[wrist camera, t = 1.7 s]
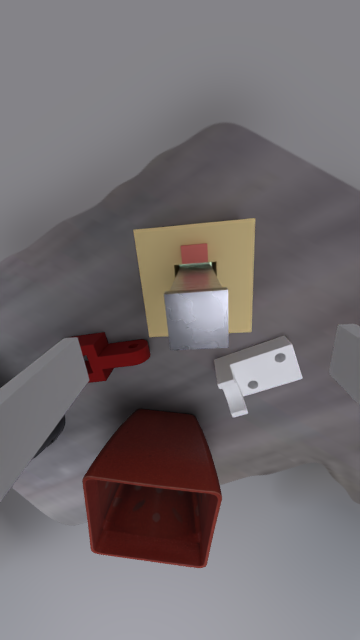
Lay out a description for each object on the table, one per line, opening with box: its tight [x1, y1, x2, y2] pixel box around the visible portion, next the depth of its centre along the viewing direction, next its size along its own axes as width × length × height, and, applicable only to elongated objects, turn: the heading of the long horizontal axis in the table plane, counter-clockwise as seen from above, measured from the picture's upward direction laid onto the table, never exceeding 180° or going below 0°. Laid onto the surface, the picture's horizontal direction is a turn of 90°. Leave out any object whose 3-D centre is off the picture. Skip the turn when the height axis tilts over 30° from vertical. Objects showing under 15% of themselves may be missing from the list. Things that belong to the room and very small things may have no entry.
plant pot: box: [82, 409, 222, 568], centre depth 40 cm, size 19×19×17 cm
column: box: [164, 262, 229, 350], centre depth 25 cm, size 5×5×21 cm
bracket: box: [214, 336, 303, 418], centre depth 37 cm, size 13×7×8 cm, turn 114°
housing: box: [133, 218, 255, 337], centre depth 31 cm, size 14×14×10 cm
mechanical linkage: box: [70, 332, 150, 383], centre depth 39 cm, size 16×7×5 cm, turn 100°
